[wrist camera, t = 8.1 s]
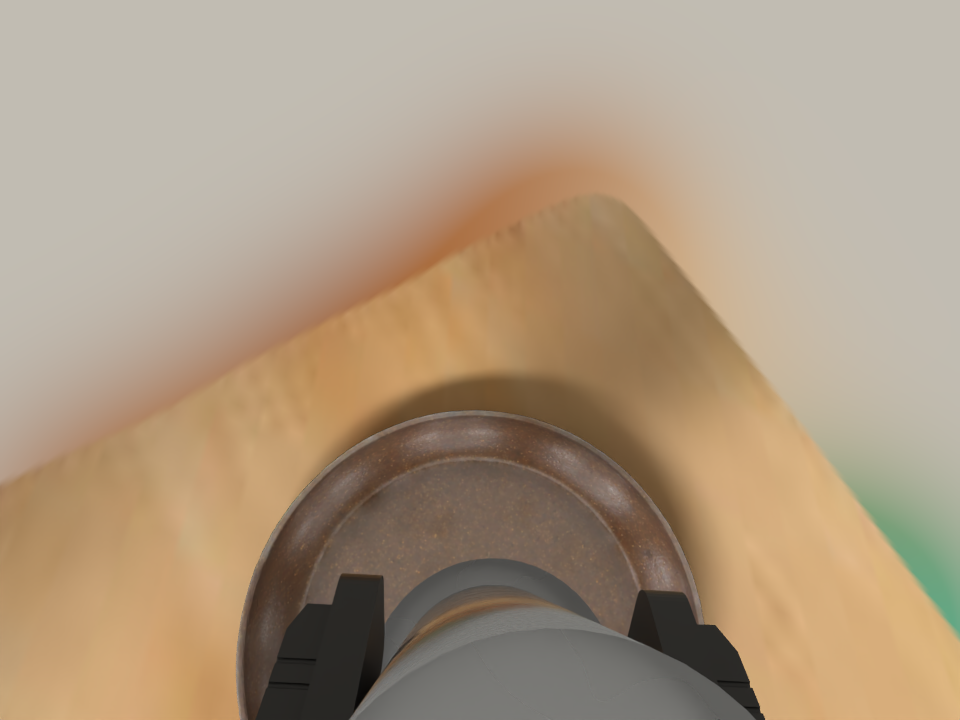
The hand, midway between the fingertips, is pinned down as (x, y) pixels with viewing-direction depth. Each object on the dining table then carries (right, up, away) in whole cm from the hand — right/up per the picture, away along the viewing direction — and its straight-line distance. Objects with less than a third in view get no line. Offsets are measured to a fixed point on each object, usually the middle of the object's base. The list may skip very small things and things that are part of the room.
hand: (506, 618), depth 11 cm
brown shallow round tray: (-1, -7, +15) cm, 17 cm away
